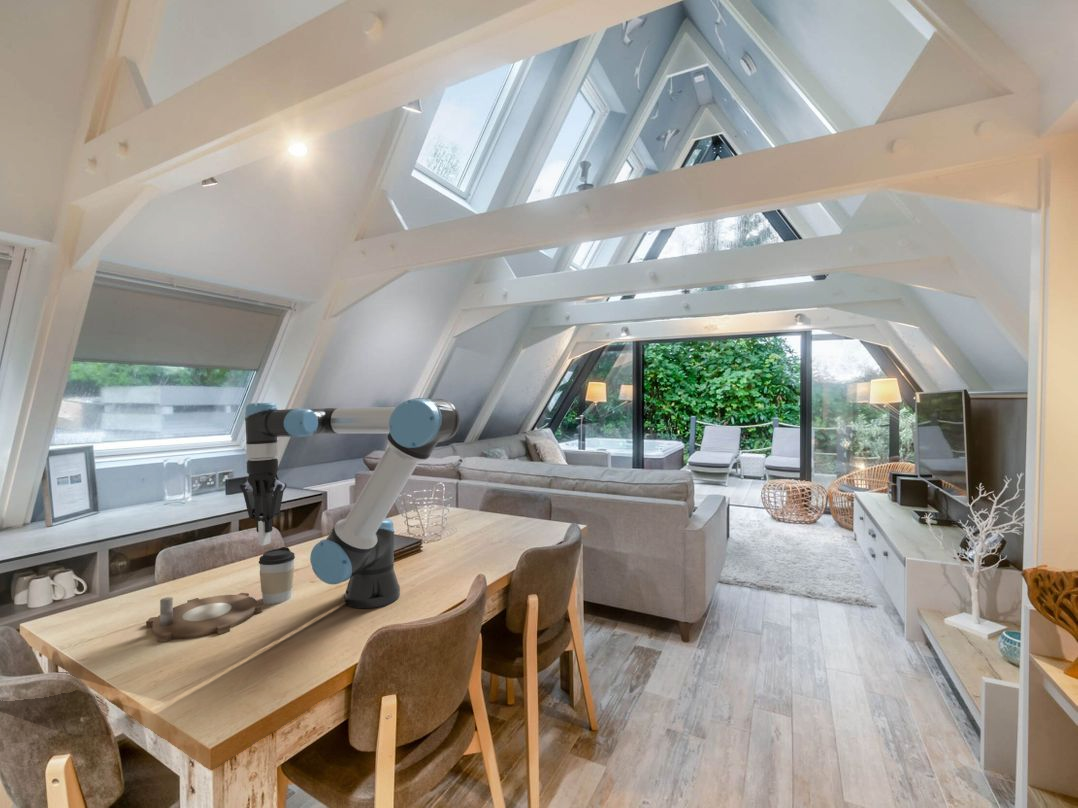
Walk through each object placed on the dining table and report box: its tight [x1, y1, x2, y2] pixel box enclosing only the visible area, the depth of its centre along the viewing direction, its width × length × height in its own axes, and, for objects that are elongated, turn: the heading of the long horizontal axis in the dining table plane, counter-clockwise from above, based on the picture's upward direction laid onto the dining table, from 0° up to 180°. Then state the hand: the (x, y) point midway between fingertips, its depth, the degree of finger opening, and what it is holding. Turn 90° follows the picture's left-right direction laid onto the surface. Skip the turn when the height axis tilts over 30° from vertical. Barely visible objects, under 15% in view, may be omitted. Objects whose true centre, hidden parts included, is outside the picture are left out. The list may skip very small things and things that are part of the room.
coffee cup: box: [258, 546, 296, 605], centre depth 135 cm, size 9×9×15 cm
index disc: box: [145, 592, 265, 643], centre depth 123 cm, size 23×25×8 cm
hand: (264, 543), depth 133 cm, fingers closed
